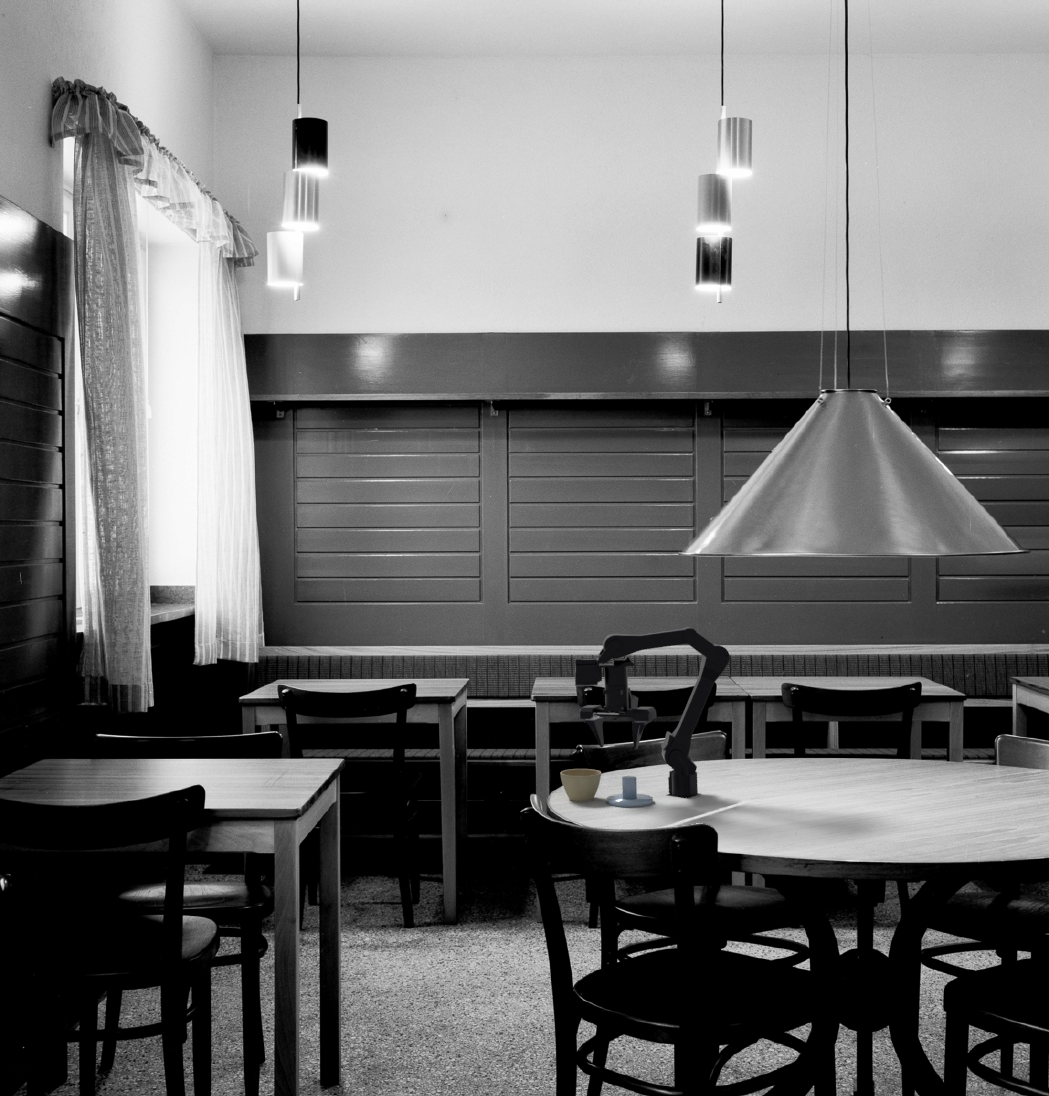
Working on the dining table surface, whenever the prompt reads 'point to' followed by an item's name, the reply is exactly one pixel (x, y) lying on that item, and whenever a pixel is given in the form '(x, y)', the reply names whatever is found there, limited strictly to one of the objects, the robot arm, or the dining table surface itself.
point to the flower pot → (580, 783)
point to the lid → (629, 795)
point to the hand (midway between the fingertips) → (618, 747)
